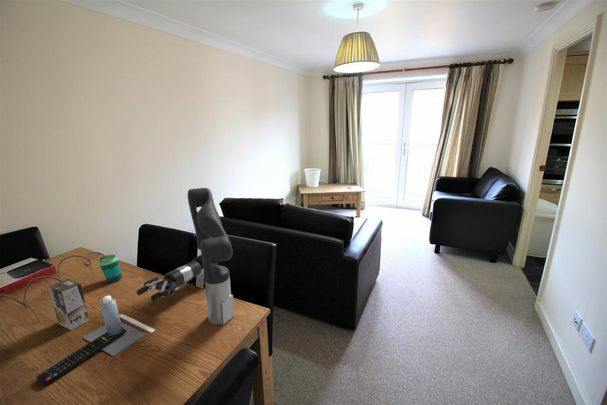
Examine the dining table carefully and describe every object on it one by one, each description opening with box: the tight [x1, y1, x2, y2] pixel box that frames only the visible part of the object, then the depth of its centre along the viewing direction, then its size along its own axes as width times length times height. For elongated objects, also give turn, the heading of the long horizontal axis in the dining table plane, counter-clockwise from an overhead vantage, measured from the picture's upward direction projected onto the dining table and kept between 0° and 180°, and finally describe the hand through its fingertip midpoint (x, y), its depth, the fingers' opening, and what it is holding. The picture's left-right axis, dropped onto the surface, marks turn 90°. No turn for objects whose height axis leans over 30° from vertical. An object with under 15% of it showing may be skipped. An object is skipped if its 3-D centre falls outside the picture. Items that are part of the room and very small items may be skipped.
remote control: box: [36, 328, 127, 387], centre depth 91 cm, size 5×24×1 cm, turn 154°
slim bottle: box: [100, 295, 122, 336], centre depth 98 cm, size 4×4×14 cm
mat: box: [83, 322, 146, 357], centre depth 100 cm, size 18×11×1 cm, turn 63°
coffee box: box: [48, 278, 90, 331], centre depth 105 cm, size 9×6×16 cm
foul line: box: [119, 313, 156, 334], centre depth 107 cm, size 20×2×1 cm, turn 63°
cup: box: [98, 254, 122, 284], centre depth 135 cm, size 8×8×12 cm
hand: (144, 296), depth 108 cm, fingers open, 8 cm apart
